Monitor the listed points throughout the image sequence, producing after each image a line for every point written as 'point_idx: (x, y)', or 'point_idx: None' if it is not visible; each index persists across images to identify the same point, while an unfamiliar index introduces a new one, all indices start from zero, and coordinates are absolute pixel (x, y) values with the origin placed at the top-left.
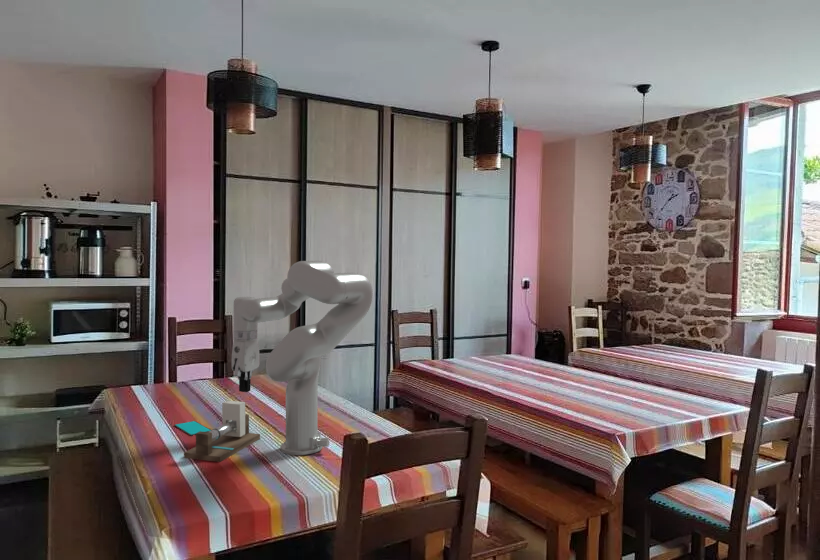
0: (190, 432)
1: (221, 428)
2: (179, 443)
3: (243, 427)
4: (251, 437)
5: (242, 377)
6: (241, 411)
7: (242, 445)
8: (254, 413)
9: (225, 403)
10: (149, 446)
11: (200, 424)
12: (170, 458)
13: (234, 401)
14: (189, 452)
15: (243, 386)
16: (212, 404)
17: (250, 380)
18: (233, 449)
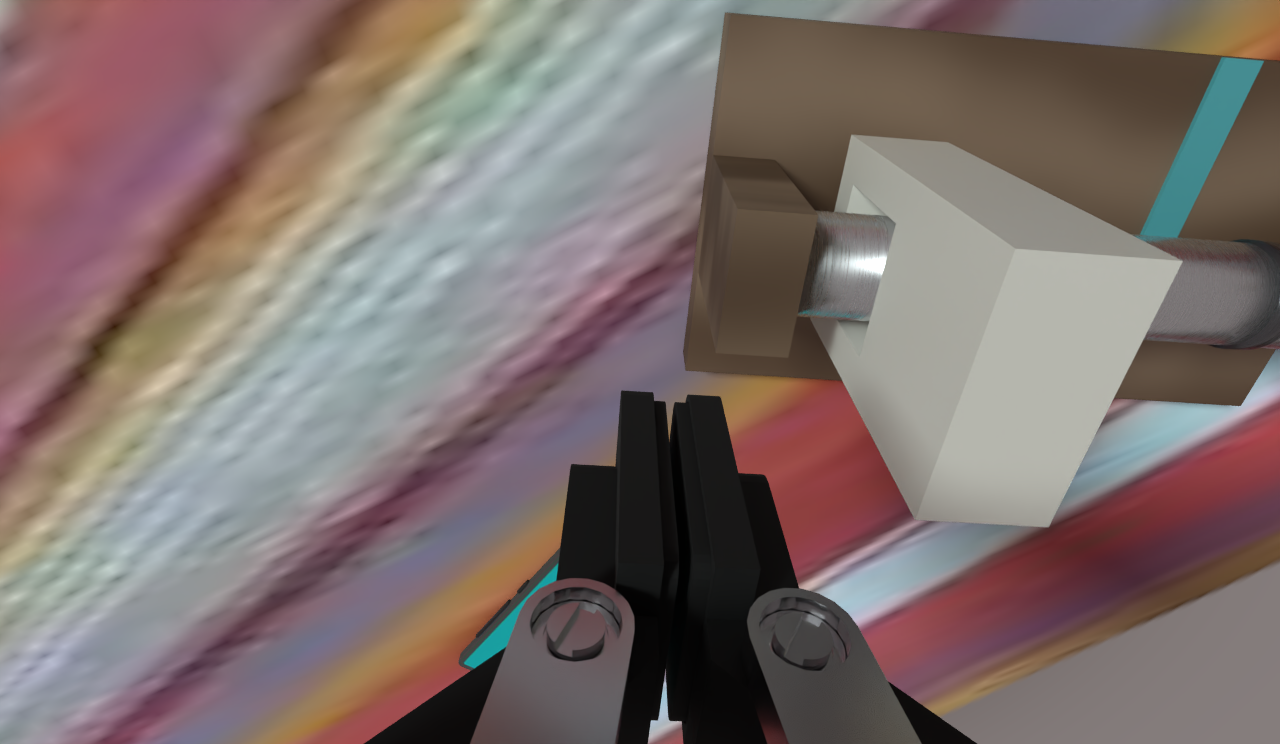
0: None
1: (1222, 279)
2: (897, 542)
3: (910, 155)
4: (856, 54)
5: (936, 726)
6: (1055, 216)
7: (1067, 43)
8: (57, 421)
9: (1064, 484)
10: (956, 642)
11: (515, 607)
12: (1206, 453)
13: (970, 420)
14: (1244, 373)
15: (770, 528)
16: (74, 731)
17: (623, 533)
18: (1230, 58)
